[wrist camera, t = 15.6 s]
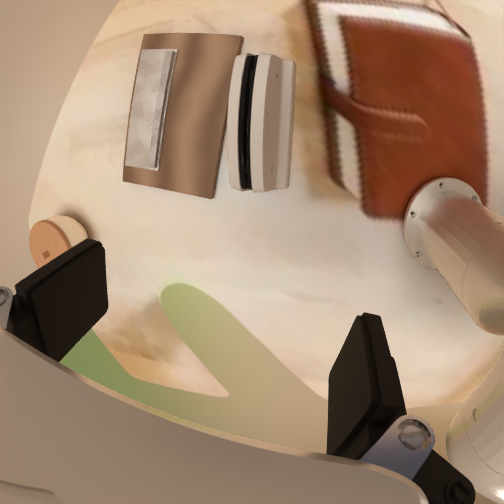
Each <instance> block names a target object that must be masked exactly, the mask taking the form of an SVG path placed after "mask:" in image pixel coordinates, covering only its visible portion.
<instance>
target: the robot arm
mask: <svg viewBox="0 0 504 504" xmlns="http://www.w3.org/2000/svg"><path fill="white" fill-rule="evenodd" d="M440 183H441V185H440V186H439V184H440ZM472 197H473V198H472ZM412 211H413V213H412V214H410V213H411V212H412ZM403 232H404V238H405V242H406V244H407V247H408V249H409V251H410V252H411V254H412V255H413V257H414V258H415V259H416V260H417V261H418V262H419V263H420V264H422V265H424V266H426V267H427V268H431V269H434V270H438V271H439V272H440V273H441V275H442V276H443V277H444V279H445V280H446V282H447V283H448V284H449V286H450V287H451V289H452V290H453V292H454V293H455V294H456V296H457V297H458V299H459V300H460V302H461V303H462V305H463V306H464V308H465V309H466V311H467V312H468V313H469V315H470V316H471V318H472V319H473V321H474V322H475V323H476V324H477V325H478V326H479V327H480V328H481V329H483V330H485V331H487V332H489V333H492V334H496V335H504V218H503V217H501V216H500V215H498V214H497V213H495V212H493V211H492V210H490V209H488V208H486V207H485V206H483V205H482V202H481V200H480V198H479V196H478V195H477V193H476V192H475V190H474V189H473V188H472V187H471V186H469V185H468V184H467V183H465V182H463V181H461V180H459V179H456V178H451V177H441V178H437V179H434V180H431V181H430V182H428V183H426V184H425V185H423V186H422V187H421V188H420V189H419V190H418V191H417V192H416V193H415V194H414V196H413V197H412V199H411V201H410V202H409V204H408V207H407V209H406V212H405V216H404V222H403ZM417 251H418V252H417ZM416 252H417V253H416ZM15 289H16V293H17V294H15V295H14V296H13V293H12V291H11V290H10V289H9V288H7V287H2V286H1V287H0V504H474V501H475V491H477V492H478V493H480V494H481V495H483V496H485V497H487V498H489V499H490V500H492V501H494V502H496V503H498V504H504V349H503V350H502V352H501V354H500V355H499V357H498V359H497V361H496V362H495V364H494V365H493V366H492V368H491V369H490V371H489V372H488V373H487V375H486V376H485V377H484V379H483V380H482V381H481V383H480V384H479V385H478V387H477V388H476V389H475V390H474V392H473V393H472V394H471V395H470V397H469V398H468V399H467V400H466V402H465V403H464V404H463V405H462V407H461V408H460V409H459V411H458V412H457V414H456V415H455V417H454V418H453V420H452V422H451V424H450V426H449V428H448V431H447V435H446V451H447V456H448V459H449V462H450V463H448V462H447V461H446V460H445V459H444V458H442V457H441V456H440V455H439V454H437V453H436V452H435V451H434V450H433V447H434V444H435V434H434V431H433V429H432V428H431V426H430V424H429V423H427V422H426V421H425V420H424V419H422V418H420V417H418V416H415V415H407V413H406V408H405V403H404V398H403V394H402V389H401V385H400V380H399V376H398V372H397V367H396V363H395V360H394V358H393V357H392V356H391V354H390V350H389V346H388V343H387V339H386V335H385V331H384V327H383V324H382V320H381V317H380V316H378V315H374V314H370V313H363V314H362V316H359V315H358V316H357V317H356V318H355V321H354V323H353V325H352V327H351V329H350V332H349V334H348V336H347V338H346V340H345V342H344V345H343V347H342V349H341V351H340V353H339V355H338V357H337V359H336V361H335V363H334V365H333V367H332V369H331V371H330V374H329V391H328V432H327V454H322V453H316V452H310V451H304V450H299V449H294V448H289V447H284V446H279V445H275V444H270V443H266V442H262V441H257V440H253V439H249V438H245V437H241V436H238V435H234V434H230V433H226V432H223V431H220V430H216V429H212V428H210V427H206V426H203V425H200V424H197V423H194V422H191V421H188V420H185V419H182V418H179V417H176V416H174V415H171V414H168V413H166V412H163V411H160V410H158V409H155V408H153V407H150V406H148V405H145V404H143V403H140V402H138V401H135V400H133V399H131V398H128V397H126V396H124V395H122V394H120V393H117V392H115V391H113V390H111V389H109V388H106V387H105V386H102V385H100V384H98V383H96V382H94V381H92V380H90V379H88V378H86V377H84V376H82V375H81V374H79V373H77V372H75V371H73V370H71V369H69V368H68V367H66V366H64V365H62V364H60V363H59V362H60V361H61V359H62V358H63V357H64V356H65V355H66V354H67V353H68V352H69V351H70V350H71V349H72V348H73V347H74V346H75V344H76V343H77V342H78V341H79V340H80V339H81V338H82V337H83V336H84V335H85V334H86V333H87V332H88V331H89V330H90V329H91V328H92V327H93V326H94V325H95V324H96V323H97V322H98V321H99V320H100V318H101V317H102V316H103V315H104V314H105V313H106V312H107V310H108V295H107V281H106V264H105V249H104V247H102V244H101V242H99V241H96V240H92V239H89V238H87V239H85V240H83V241H82V242H80V243H78V244H77V245H75V246H73V247H72V248H70V249H69V250H67V251H65V252H64V253H62V254H61V255H59V256H58V257H56V258H54V259H53V260H51V261H50V262H48V263H47V264H45V265H44V266H42V267H41V268H39V269H38V270H36V271H35V272H33V273H32V274H30V275H29V276H27V277H26V278H24V279H23V280H21V281H20V282H19V283H17V284H16V285H15Z"/></svg>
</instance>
